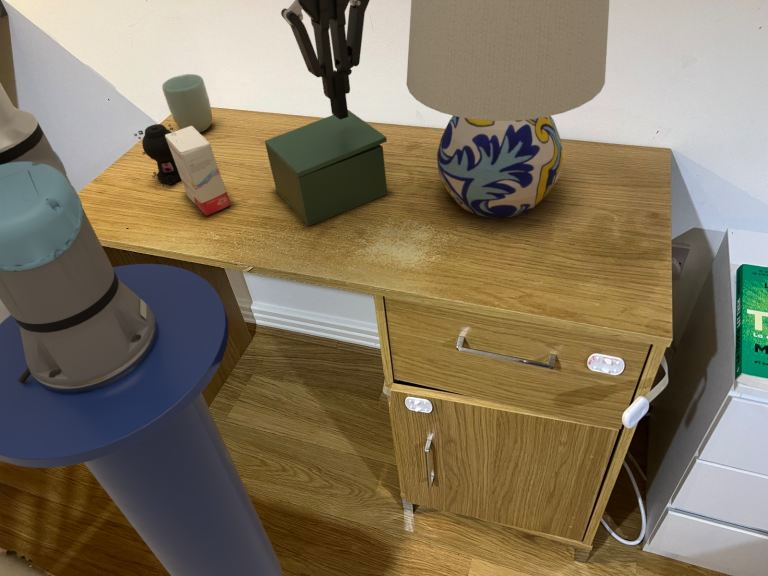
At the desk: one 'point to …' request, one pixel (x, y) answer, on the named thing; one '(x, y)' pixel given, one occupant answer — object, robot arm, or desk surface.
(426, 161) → the desk surface
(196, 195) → the ink box
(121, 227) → the desk surface
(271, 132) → the desk surface
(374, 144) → the lid
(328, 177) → the chest
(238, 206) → the desk surface
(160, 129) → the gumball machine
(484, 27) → the table lamp
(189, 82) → the cup
